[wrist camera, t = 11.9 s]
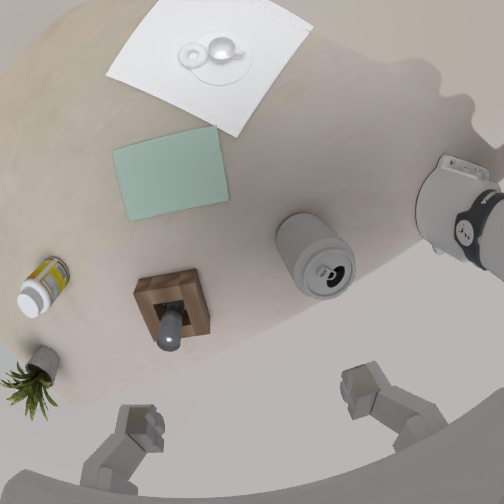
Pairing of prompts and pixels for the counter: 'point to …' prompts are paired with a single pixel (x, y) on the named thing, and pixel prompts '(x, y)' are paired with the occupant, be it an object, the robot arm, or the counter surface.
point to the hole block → (172, 289)
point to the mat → (171, 173)
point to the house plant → (35, 380)
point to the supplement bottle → (43, 287)
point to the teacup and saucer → (211, 56)
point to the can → (315, 256)
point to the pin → (171, 326)
